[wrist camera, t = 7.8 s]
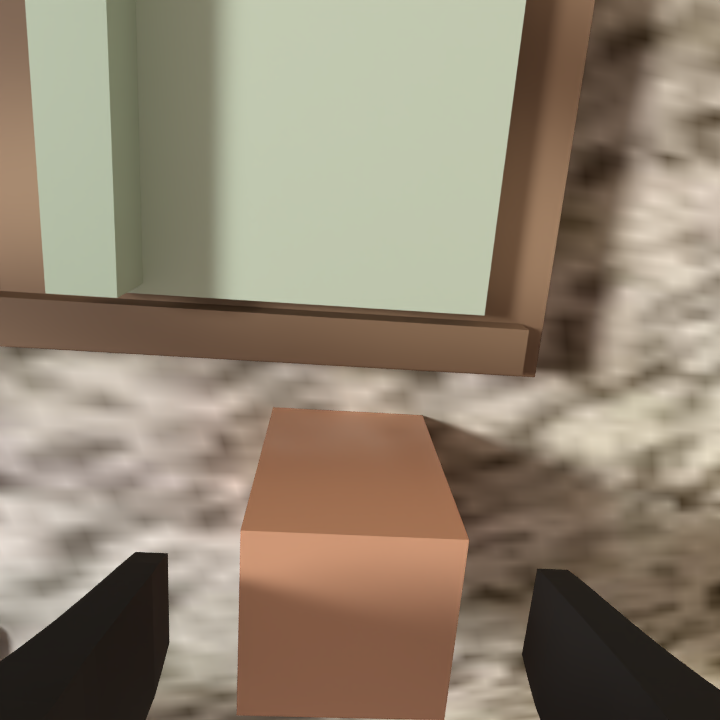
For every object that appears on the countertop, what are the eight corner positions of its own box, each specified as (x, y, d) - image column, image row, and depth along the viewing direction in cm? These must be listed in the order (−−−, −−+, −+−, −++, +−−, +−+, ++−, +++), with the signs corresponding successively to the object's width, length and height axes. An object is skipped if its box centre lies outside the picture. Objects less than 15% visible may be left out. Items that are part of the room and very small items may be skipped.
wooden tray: (505, 348, 16) (543, 386, 13) (-395, 294, 15) (-571, 322, 12) (586, -208, 13) (660, -321, 10) (-568, -344, 11) (-871, -520, 9)
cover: (475, 308, 13) (504, 333, 11) (95, 282, 13) (46, 304, 11) (540, -199, 11) (594, -295, 9) (70, -253, 10) (-1, -372, 8)
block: (408, 544, 18) (444, 720, 12) (268, 538, 17) (236, 715, 12) (422, 415, 17) (469, 539, 11) (273, 406, 16) (240, 530, 11)
